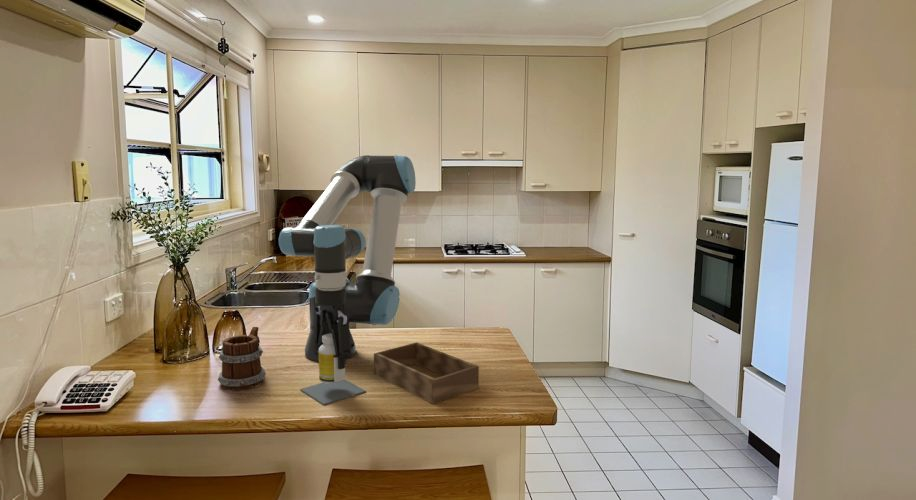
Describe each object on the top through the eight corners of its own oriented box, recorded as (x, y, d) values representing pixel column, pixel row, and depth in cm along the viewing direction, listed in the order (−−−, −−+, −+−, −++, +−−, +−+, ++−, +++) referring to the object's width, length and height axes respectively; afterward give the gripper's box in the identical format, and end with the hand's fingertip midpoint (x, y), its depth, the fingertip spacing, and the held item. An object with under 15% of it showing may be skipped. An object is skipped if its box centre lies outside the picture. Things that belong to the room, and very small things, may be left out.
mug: (206, 390, 140) (208, 331, 141) (235, 379, 154) (237, 325, 155) (250, 393, 139) (252, 333, 139) (275, 381, 153) (277, 327, 154)
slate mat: (300, 390, 142) (300, 388, 142) (341, 378, 150) (341, 377, 150) (323, 405, 133) (323, 403, 133) (366, 392, 141) (365, 390, 141)
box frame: (374, 374, 153) (373, 353, 152) (416, 361, 163) (416, 342, 162) (434, 404, 134) (434, 380, 133) (478, 388, 144) (478, 366, 143)
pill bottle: (338, 386, 137) (338, 340, 135) (314, 383, 138) (313, 338, 136) (349, 376, 143) (348, 333, 141) (325, 374, 144) (325, 331, 143)
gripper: (298, 283, 142) (301, 369, 145) (337, 296, 128) (339, 391, 131) (324, 279, 147) (326, 363, 150) (365, 292, 133) (366, 383, 136)
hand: (332, 376), depth 141 cm, fingers closed on pill bottle, 6 cm apart
